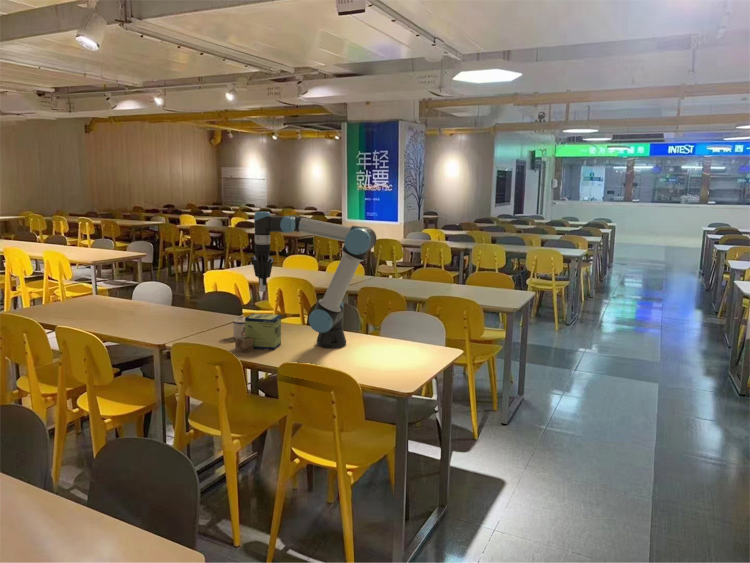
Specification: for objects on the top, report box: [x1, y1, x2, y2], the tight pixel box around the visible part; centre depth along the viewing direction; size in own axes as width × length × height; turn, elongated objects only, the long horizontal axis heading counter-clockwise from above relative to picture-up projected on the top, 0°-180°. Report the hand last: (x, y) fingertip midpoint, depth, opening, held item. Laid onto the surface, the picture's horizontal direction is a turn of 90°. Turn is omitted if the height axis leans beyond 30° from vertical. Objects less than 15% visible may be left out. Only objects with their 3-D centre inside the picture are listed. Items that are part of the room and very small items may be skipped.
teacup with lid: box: [232, 314, 246, 339], centre depth 301 cm, size 12×9×12 cm
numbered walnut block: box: [234, 337, 254, 354], centre depth 276 cm, size 6×6×6 cm
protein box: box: [245, 313, 282, 351], centre depth 283 cm, size 10×16×16 cm
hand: (262, 291), depth 279 cm, fingers closed
